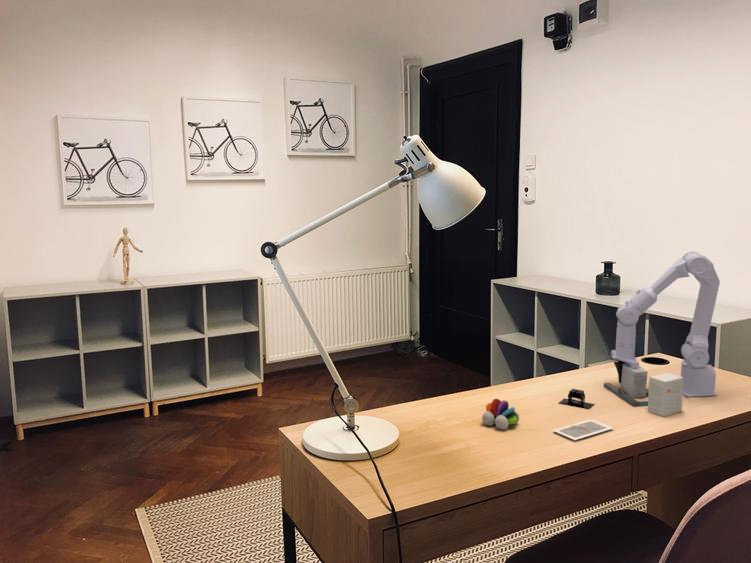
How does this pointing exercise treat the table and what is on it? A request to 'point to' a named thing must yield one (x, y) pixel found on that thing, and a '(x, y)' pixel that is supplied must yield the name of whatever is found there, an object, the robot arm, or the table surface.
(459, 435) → the table surface
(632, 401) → the track
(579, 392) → the black ring bracket
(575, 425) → the touchpad
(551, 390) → the table surface
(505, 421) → the bunch of balls
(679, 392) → the small box
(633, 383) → the medicine box
